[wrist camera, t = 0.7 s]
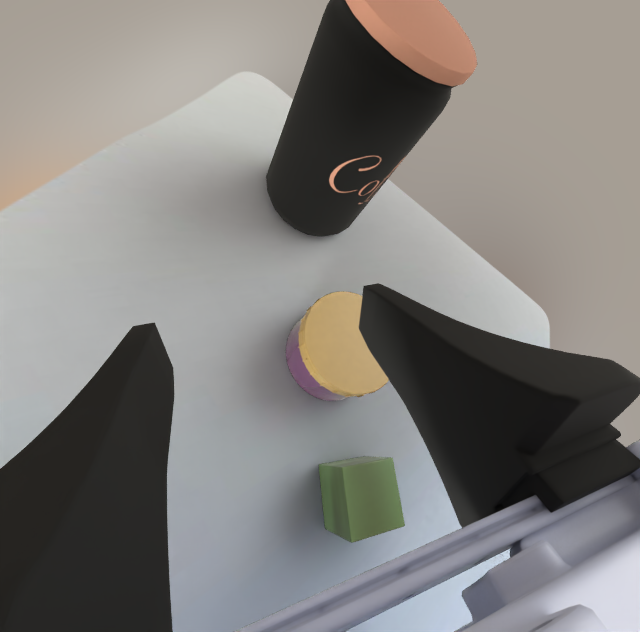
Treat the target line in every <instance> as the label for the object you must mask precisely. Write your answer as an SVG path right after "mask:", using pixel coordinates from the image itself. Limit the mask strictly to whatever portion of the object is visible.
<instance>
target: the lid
mask: <svg viewBox="0 0 640 632" xmlns="http://www.w3.org/2000/svg"><path fill="white" fill-rule="evenodd" d="M361 305H362V296H361V295H358V294H355V293H351V292H344V291H343V292H334V293H330V294H327V295H325V296H323V297H322V298H320V299H318V300H317V301H316V302H315V304H314V305H313V306H312V307H310V308H309V309H308V310H307V312H306V314H305V315H304V317H303V319H302V320H301V325H300V329H299V332H298V334H299V347H298V348H300V353H301V356H302V359H303V362H304V364H305V366H306V368H307V369H308V371H309V372H310V375H312V376H313V377H314V379H315V380H316V381H317V382H318V383H319V384H320V386H323V387H325V388H326V389H328V390H329V391H331V392H332V393H336V394H339V395H343V396H345V397H349V396H351V397H353V396H357V397H360V396H364V394H368V393H373V392H375V391H376V390H378V389H380V388H381V387H383V386H384V385H385V384H386V383H387V382H388V380H389V379H388V377H387V376H386V375H385V373H384V372H383V370H382V369H381V367H380V366H379V364H378V363H377V361H376V360H375V358H374V357H373V355H372V354H371V352H370V350H369V349H368V347H367V345H366V343H365V341H364V339H363V337H362V334H361V332H360V330H359V321H360V313H361Z"/></svg>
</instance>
